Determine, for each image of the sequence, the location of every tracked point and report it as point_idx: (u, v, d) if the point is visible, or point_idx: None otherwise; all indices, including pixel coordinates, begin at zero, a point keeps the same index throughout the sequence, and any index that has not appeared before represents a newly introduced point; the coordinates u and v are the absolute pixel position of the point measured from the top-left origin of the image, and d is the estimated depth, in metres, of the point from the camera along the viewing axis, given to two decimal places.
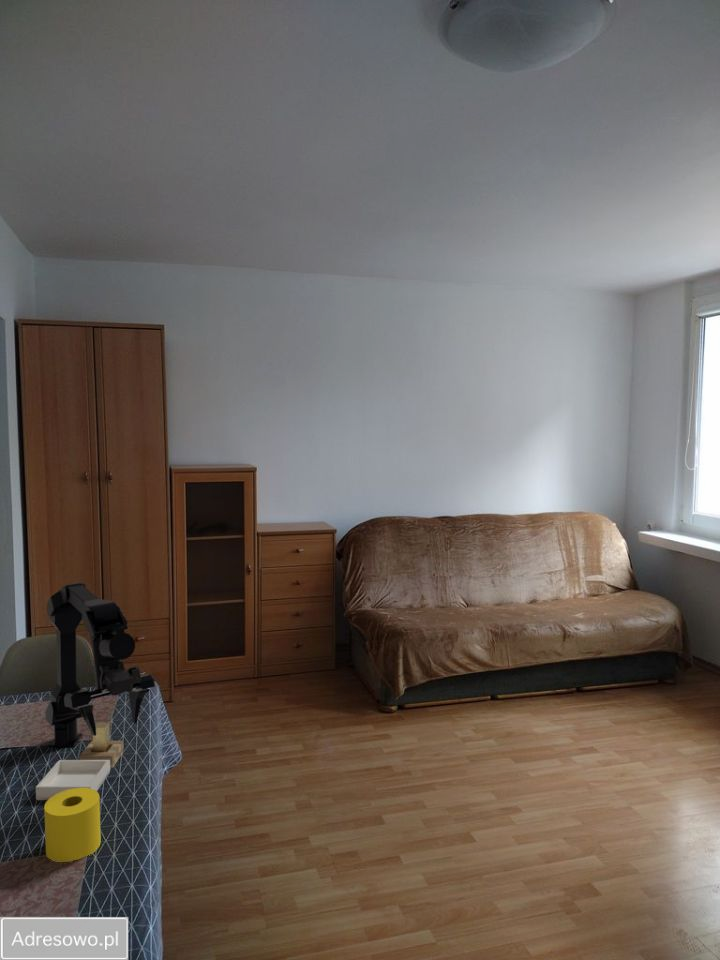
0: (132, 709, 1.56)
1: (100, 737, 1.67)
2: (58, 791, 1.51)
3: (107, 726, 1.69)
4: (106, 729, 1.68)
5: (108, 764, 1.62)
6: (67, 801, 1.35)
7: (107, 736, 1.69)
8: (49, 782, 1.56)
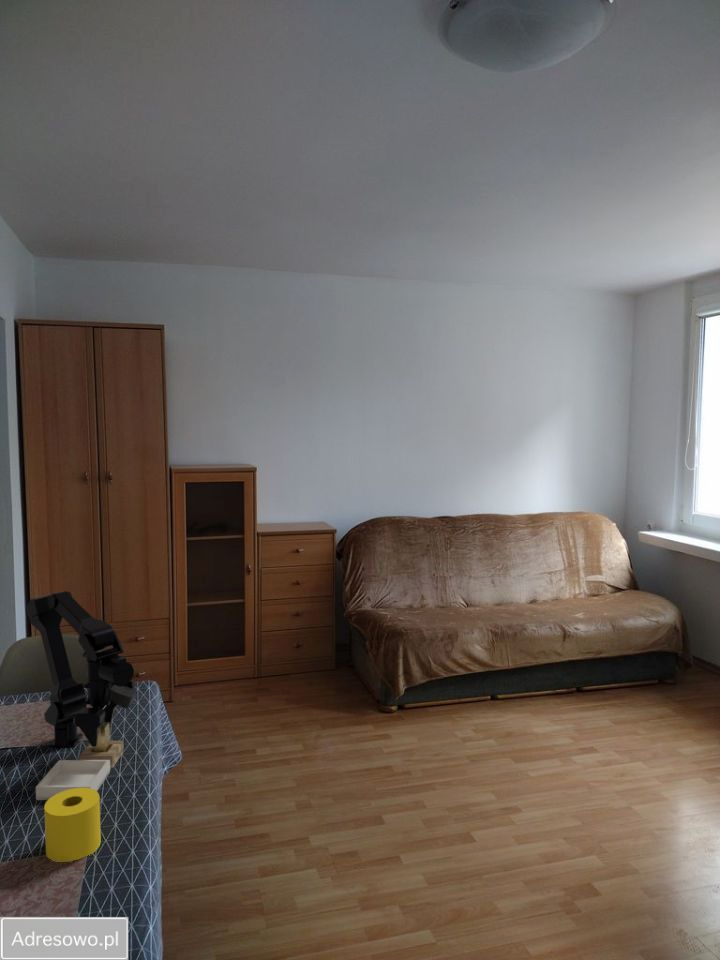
0: (105, 717, 1.73)
1: (100, 737, 1.67)
2: (58, 791, 1.51)
3: (107, 726, 1.69)
4: (106, 729, 1.68)
5: (108, 764, 1.62)
6: (67, 801, 1.35)
7: (108, 736, 1.69)
8: (49, 782, 1.56)
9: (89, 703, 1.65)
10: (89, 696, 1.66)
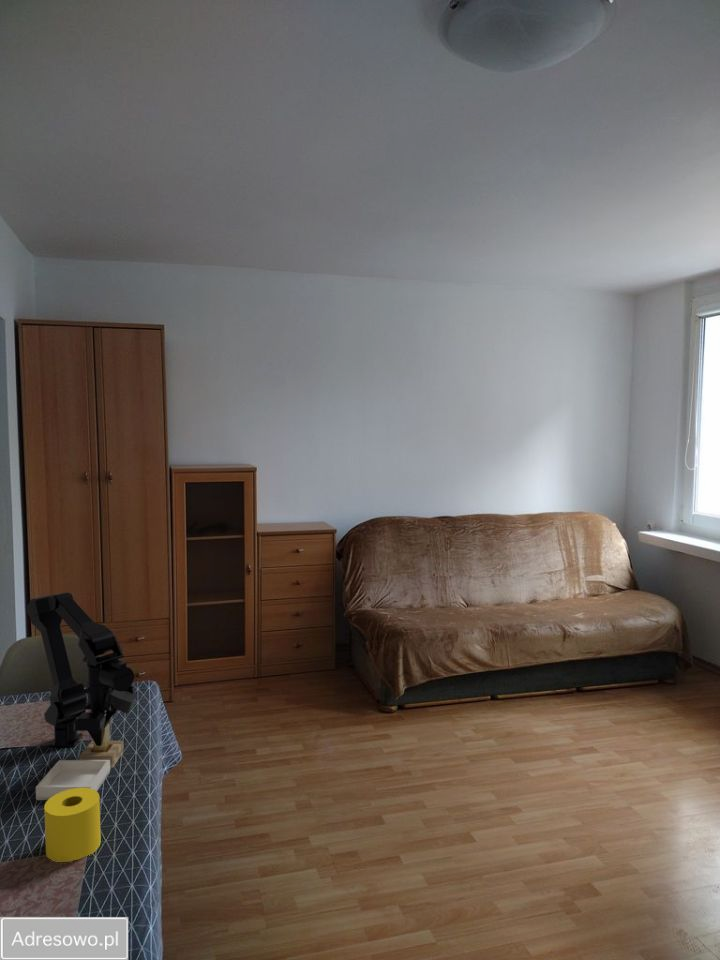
0: None
1: None
2: (58, 791, 1.51)
3: (107, 726, 1.69)
4: (106, 729, 1.68)
5: (108, 764, 1.62)
6: (67, 801, 1.35)
7: (108, 736, 1.69)
8: (49, 782, 1.56)
9: (89, 708, 1.66)
10: (89, 701, 1.66)
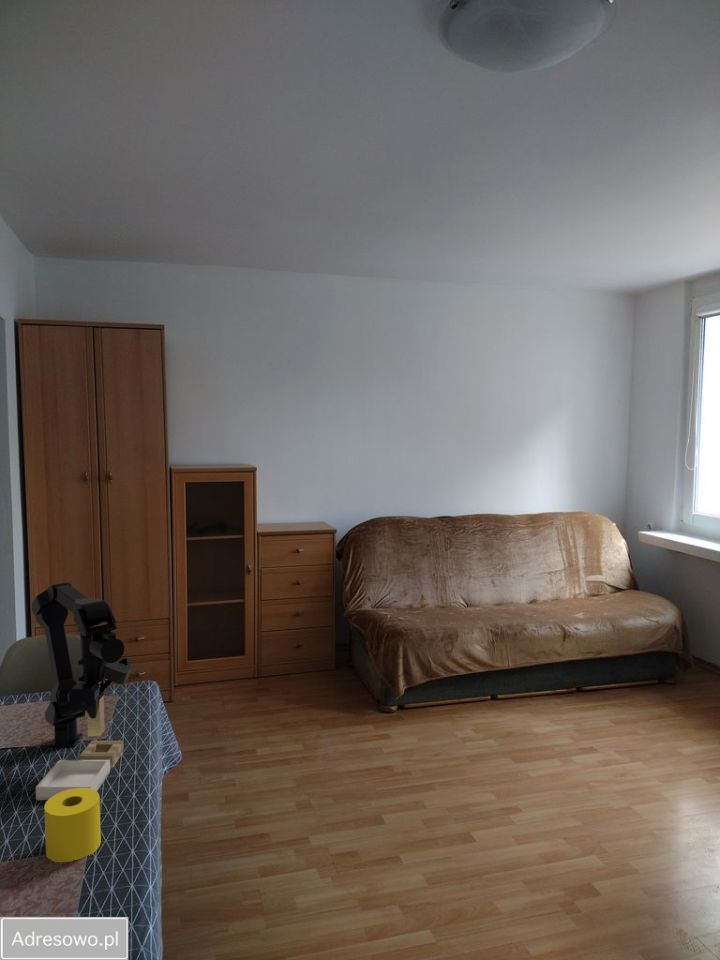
0: None
1: None
2: (58, 791, 1.51)
3: (101, 698, 1.66)
4: (100, 701, 1.65)
5: (108, 764, 1.62)
6: (67, 801, 1.35)
7: (102, 709, 1.66)
8: (49, 782, 1.56)
9: (83, 680, 1.62)
10: (83, 672, 1.62)
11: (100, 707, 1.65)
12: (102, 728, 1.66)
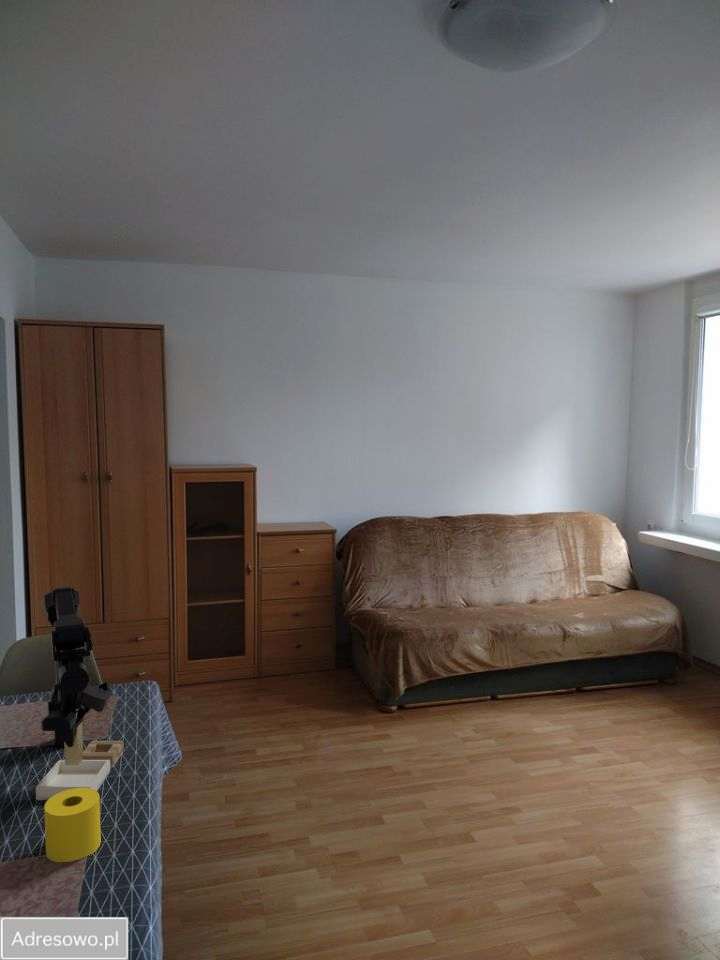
0: None
1: None
2: (58, 791, 1.51)
3: (80, 726, 1.56)
4: (78, 729, 1.55)
5: (108, 764, 1.62)
6: (67, 801, 1.35)
7: (80, 737, 1.57)
8: (49, 782, 1.56)
9: (60, 706, 1.53)
10: (60, 699, 1.53)
11: (78, 735, 1.55)
12: (80, 757, 1.57)
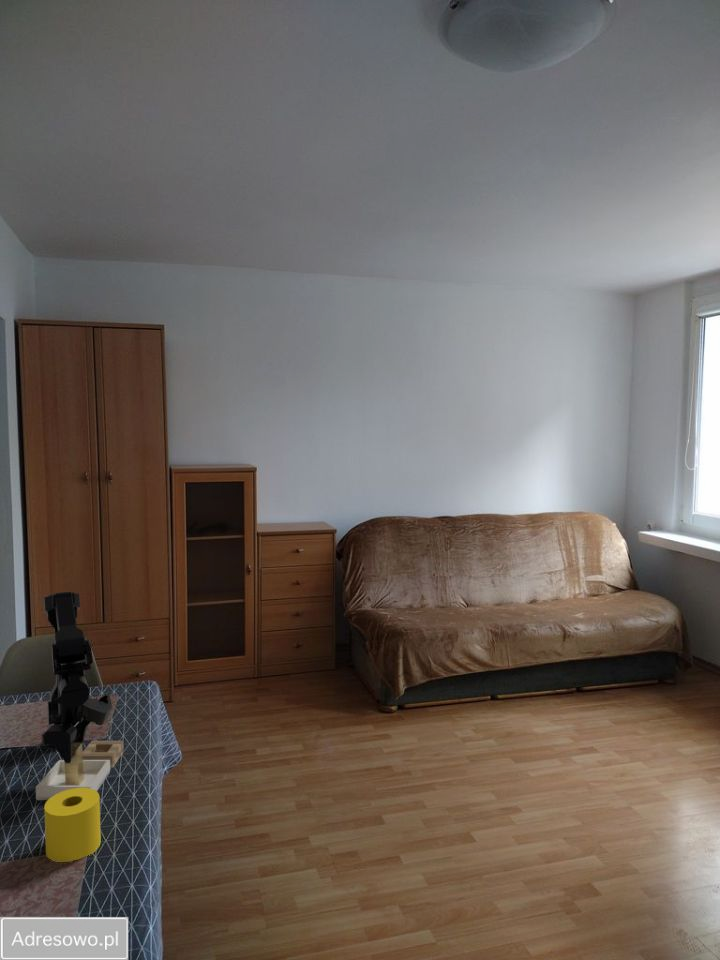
0: (76, 737, 1.59)
1: (72, 759, 1.55)
2: (58, 791, 1.51)
3: (80, 747, 1.56)
4: (78, 750, 1.55)
5: (108, 764, 1.62)
6: (67, 801, 1.35)
7: (80, 758, 1.57)
8: (49, 782, 1.56)
9: (60, 719, 1.53)
10: (60, 712, 1.53)
11: (78, 756, 1.55)
12: (81, 777, 1.57)
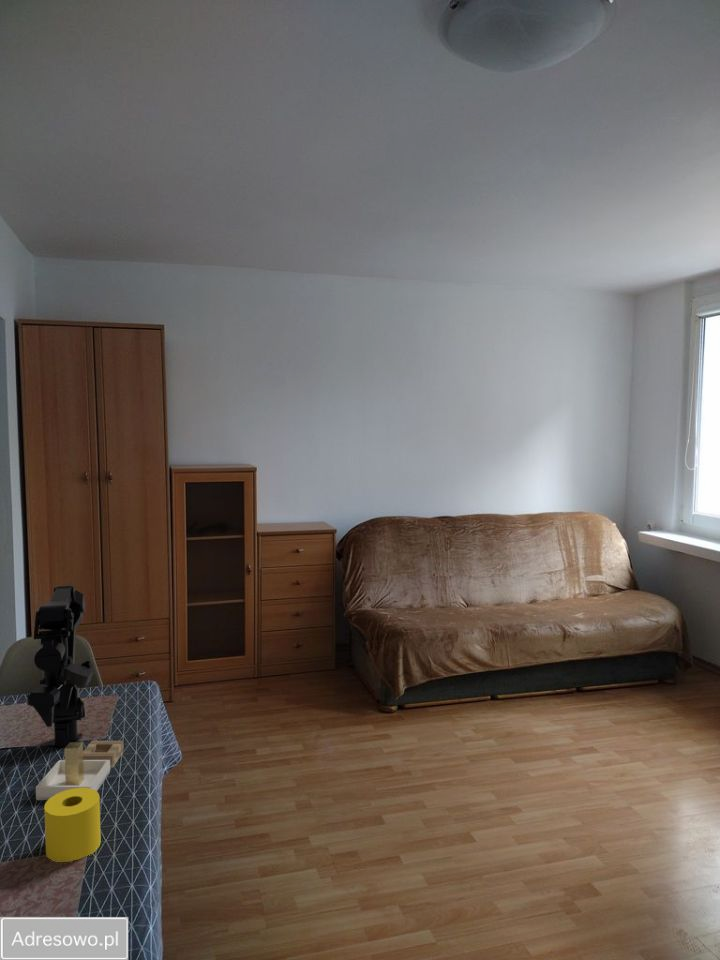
0: (62, 697, 1.70)
1: (73, 758, 1.55)
2: (58, 791, 1.51)
3: (80, 746, 1.57)
4: (79, 749, 1.56)
5: (108, 764, 1.62)
6: (67, 801, 1.35)
7: (81, 757, 1.57)
8: (49, 782, 1.56)
9: (44, 683, 1.62)
10: (44, 675, 1.62)
11: (79, 756, 1.56)
12: (81, 777, 1.57)
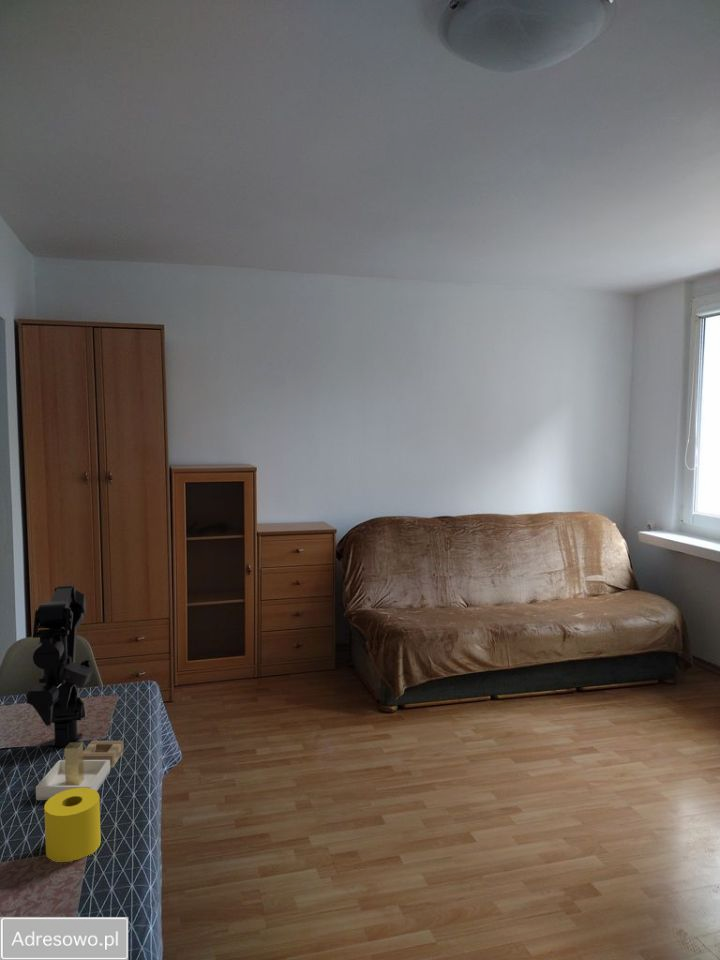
0: (61, 697, 1.70)
1: (73, 758, 1.55)
2: (58, 791, 1.51)
3: (80, 746, 1.57)
4: (79, 749, 1.56)
5: (108, 764, 1.62)
6: (67, 801, 1.35)
7: (81, 757, 1.57)
8: (49, 782, 1.56)
9: (43, 681, 1.63)
10: (43, 674, 1.63)
11: (79, 756, 1.56)
12: (81, 777, 1.57)
